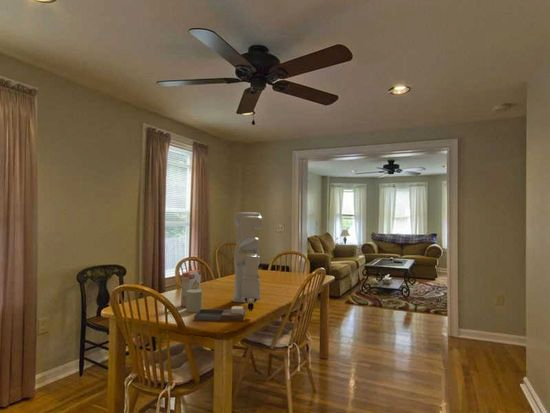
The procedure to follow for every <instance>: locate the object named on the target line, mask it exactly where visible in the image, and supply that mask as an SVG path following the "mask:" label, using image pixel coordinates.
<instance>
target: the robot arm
mask: <svg viewBox="0 0 550 413" xmlns="http://www.w3.org/2000/svg"><path fill="white" fill-rule="evenodd" d="M233 223H234V226H235V229H236V244H235V247H234V250H233V251H234V257H233V264H234V297H232V298H231V301H232V302H235V303H247V310H248V311H249V312H253V310H254V304H255V303H256V302H257V301H261V283H260V278H262V277H261V275H260V274H259V266H260V262H261V240H260V239H259V237H256V234H255V230H259V231H260V230H262V229H263V228H264V218H263V217H262V215H261V213H260V212H255V211H254V212H250V211H248V212H247V211H241V212H235V213H234V215H233Z"/></svg>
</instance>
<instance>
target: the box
mask: <svg viewBox="0 0 550 413" xmlns="http://www.w3.org/2000/svg"><path fill="white" fill-rule="evenodd" d="M224 309H225V308H223V309H222V308H220V309H219V308H202V309H199V311H198V312H195V314H194V317H193V321H195V322H196V321H197V322H198V321H199V322H201V321H202V322H203V321H204V322H205V321H208V322H211V321H212V322H222V321H221V314H222V312H223V311H224Z"/></svg>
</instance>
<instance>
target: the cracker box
mask: <svg viewBox="0 0 550 413" xmlns="http://www.w3.org/2000/svg"><path fill="white" fill-rule="evenodd" d="M201 275H202V270H199V269H193V270H188V271H184V272H182V274H181V292H180V294H181V295H180V296H181V297H180V307H184V308H186V306H187V290H191V289H200V290H201V280H202V279H201V277H202V276H201Z"/></svg>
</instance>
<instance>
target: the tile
mask: <svg viewBox="0 0 550 413" xmlns="http://www.w3.org/2000/svg"><path fill="white" fill-rule="evenodd" d="M230 309H231V313H238V314H242V312H243V309H244V306H242V305H241V306H239V305H234V306H232V307H231V308H230Z"/></svg>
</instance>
